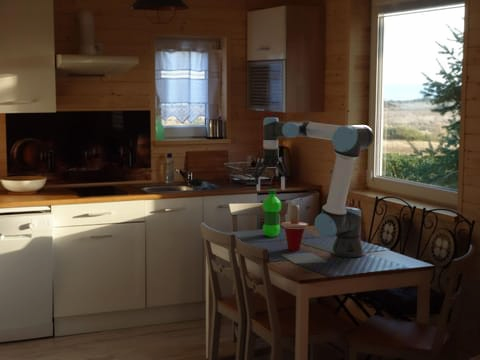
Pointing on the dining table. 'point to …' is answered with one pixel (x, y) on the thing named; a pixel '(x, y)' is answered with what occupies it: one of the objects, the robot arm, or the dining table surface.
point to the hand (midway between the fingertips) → (270, 190)
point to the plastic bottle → (271, 214)
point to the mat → (303, 258)
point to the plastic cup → (294, 237)
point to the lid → (294, 218)
